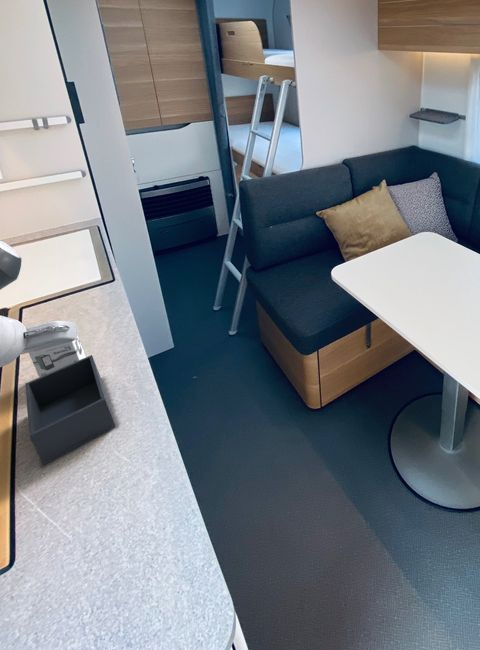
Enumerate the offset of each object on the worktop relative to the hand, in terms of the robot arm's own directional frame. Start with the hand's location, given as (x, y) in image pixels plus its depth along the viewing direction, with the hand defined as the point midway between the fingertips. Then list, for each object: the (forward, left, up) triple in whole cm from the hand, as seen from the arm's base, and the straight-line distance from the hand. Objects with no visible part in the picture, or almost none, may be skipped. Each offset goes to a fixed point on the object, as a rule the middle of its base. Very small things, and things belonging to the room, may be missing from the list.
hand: (30, 348), depth 85 cm
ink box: (0, +10, -16) cm, 19 cm away
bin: (+5, -6, -16) cm, 18 cm away
